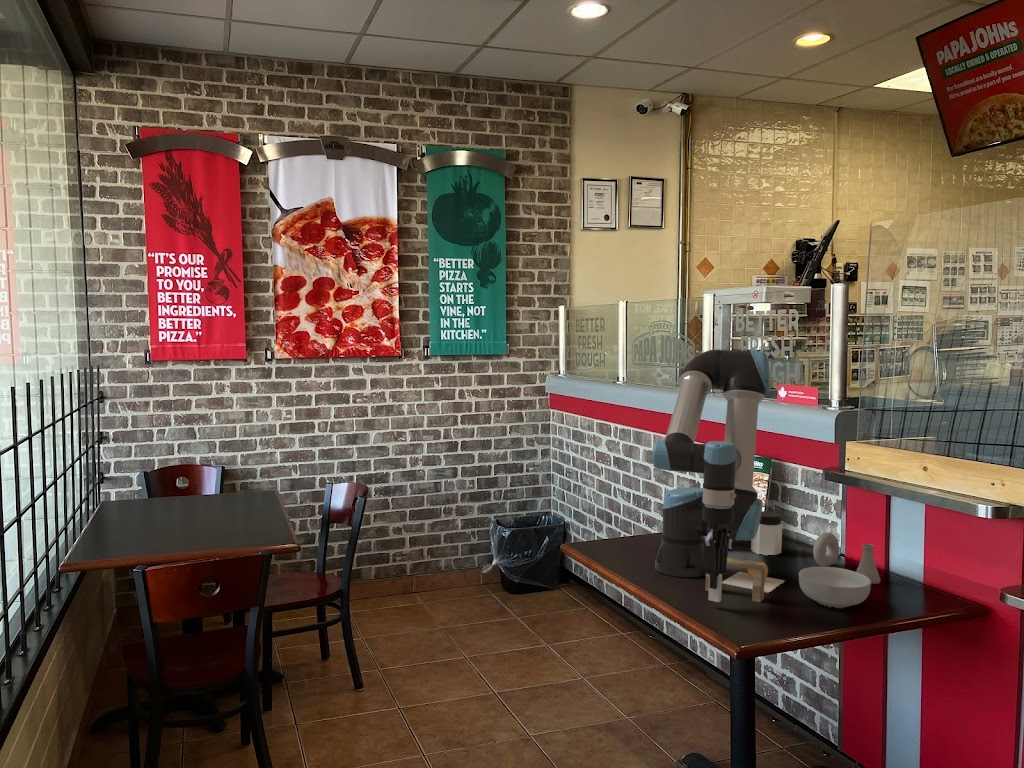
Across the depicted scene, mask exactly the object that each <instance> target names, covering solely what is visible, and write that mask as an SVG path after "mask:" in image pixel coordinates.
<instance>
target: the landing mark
mask: <svg viewBox="0 0 1024 768" xmlns="http://www.w3.org/2000/svg"><path fill="white" fill-rule="evenodd" d="M784 581H785V582H786V580H784V579H779V578H775V577H774V578H773V577H768V576H766V577H765V585H764V593H767V594H769V592H770V593H771V592H772V591H774V590H775V589H776V587H777V588H778V587H780V586H781V585H782V584H784V583H785V582H784ZM723 584H724V585H728V586H733V587H739V588H744V589H747V590H748V589H749V590H752V589H753V579H752V578H751V577H750V576H749V574H748V572H744V571H738V572H736V573H735V574H733V575H731V576H729V577H728V578H726V579H724V580H722V585H723ZM780 584H781V585H780Z"/></svg>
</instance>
